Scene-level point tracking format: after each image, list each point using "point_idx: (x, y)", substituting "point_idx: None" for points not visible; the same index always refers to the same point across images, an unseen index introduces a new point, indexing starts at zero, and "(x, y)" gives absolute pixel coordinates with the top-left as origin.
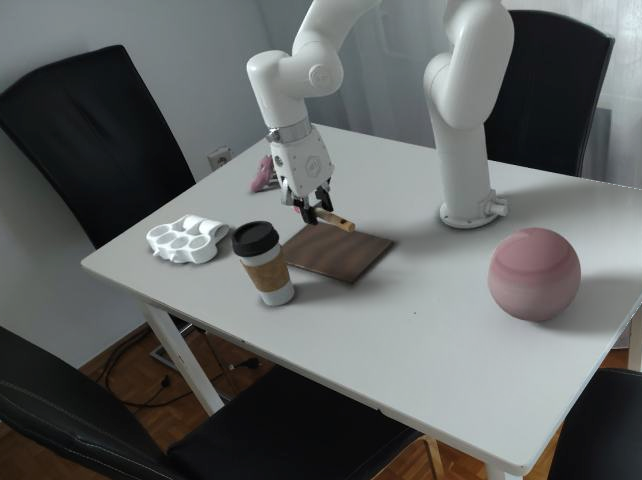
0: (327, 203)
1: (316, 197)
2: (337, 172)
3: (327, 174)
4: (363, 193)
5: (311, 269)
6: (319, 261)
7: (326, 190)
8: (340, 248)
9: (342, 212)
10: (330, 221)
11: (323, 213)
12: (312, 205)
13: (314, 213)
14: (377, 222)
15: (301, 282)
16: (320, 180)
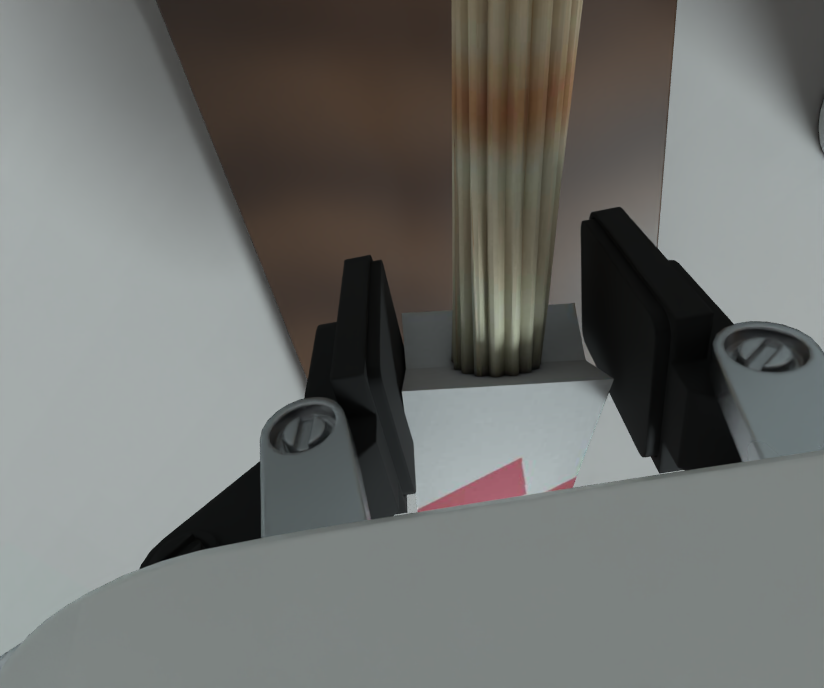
0: (382, 321)
1: (413, 455)
2: (53, 590)
3: (225, 645)
4: (13, 422)
5: (667, 101)
6: (581, 124)
7: (336, 423)
8: (413, 112)
9: (183, 388)
10: (576, 45)
11: (538, 217)
12: (521, 396)
13: (637, 268)
14: (62, 151)
15: (762, 76)
16: (526, 592)
